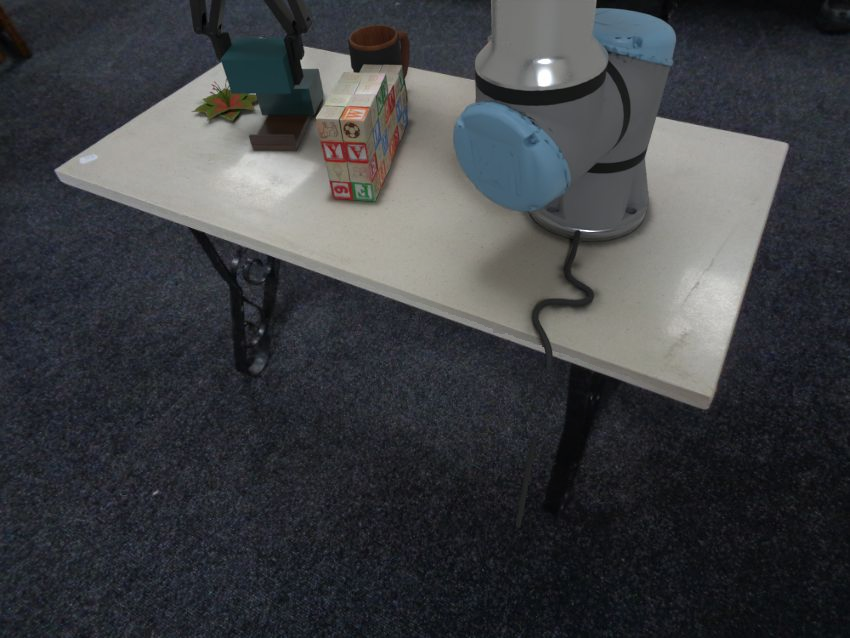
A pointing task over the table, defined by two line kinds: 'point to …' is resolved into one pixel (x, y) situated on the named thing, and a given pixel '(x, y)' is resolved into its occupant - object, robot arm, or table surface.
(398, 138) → the stack of blocks
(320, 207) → the table surface
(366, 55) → the mug
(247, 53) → the block
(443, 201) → the table surface
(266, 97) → the teal lidded box
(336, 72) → the table surface
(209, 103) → the lily flower
